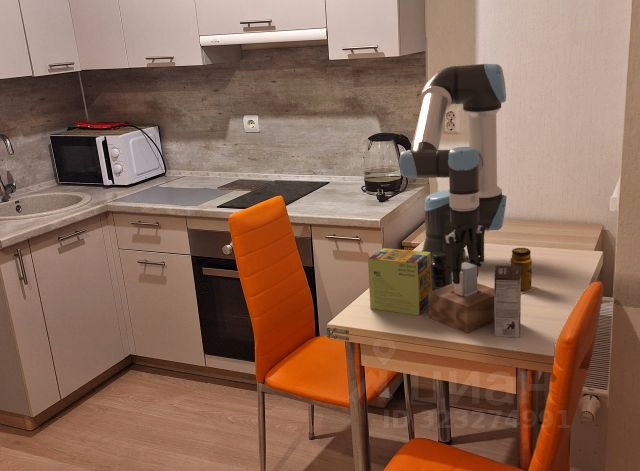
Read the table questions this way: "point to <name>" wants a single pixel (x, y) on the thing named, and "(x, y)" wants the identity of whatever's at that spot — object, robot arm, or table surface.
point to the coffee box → (507, 300)
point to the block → (462, 308)
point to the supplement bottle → (440, 271)
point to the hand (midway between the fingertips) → (465, 291)
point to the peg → (469, 279)
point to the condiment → (523, 267)
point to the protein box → (400, 280)
